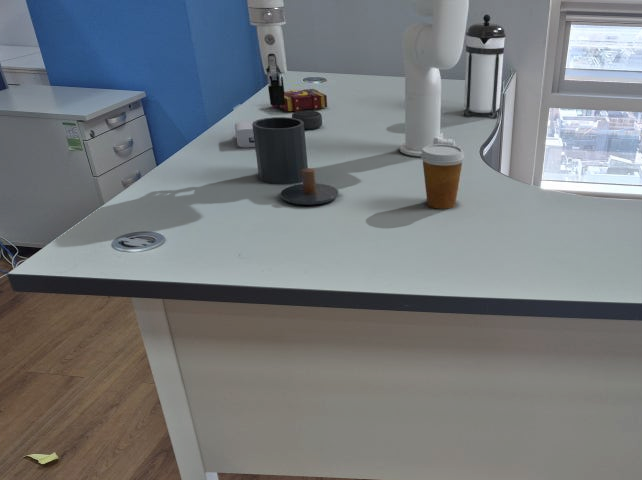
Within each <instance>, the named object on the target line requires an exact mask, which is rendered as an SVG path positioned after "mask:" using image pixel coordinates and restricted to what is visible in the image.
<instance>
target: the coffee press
mask: <svg viewBox="0 0 642 480" xmlns="http://www.w3.org/2000/svg"><path fill="white" fill-rule="evenodd" d="M482 18H483V21H484V22H476V23H473V24H471V25H469V26H468V28H467V31H465V36H466V44H465V52H466V53H465V54H466V55H465V72H464V73H465V75H464V78H465V79H464V97H463V98H464V103H463V104H464V105H463V106H464V111H463V116H464V117H467V118H468V117H469V116H470V115H471V114H472V113H477V114H478V113H479V114H489V115H490V117H491V118H492V119H497V118H498V113H499V111H500V105H501V93H502V78H503V67H504V65H503V64H504V53H505V49H506V48H505V39H506V37H507V33H506V32H505V29H504V27H503V26H502V25H500V24H498V23H491V15H489V14H485V15H484V16H483V17H482Z"/></svg>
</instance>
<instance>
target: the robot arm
mask: <svg viewBox="0 0 642 480" xmlns="http://www.w3.org/2000/svg"><path fill="white" fill-rule="evenodd" d="M246 3H247V10H248V18H249V24H250V26H255V27H256V34H257V41H258V46H259V52H260V58H261V64H262V67H263V72H264V74H265V75H266V76H267V80H268V81H267V82H268V86H267V88H268V96H269V103H270V105H271V107H272V106H273V105H285V98H284V94H285V93H284V92H285V85H284V79H283V78H284V77H283V76H282V74H283V75H284V76H286V75H287V74H288V68H287V67H288V66H287V57H286V48H285V43H284V42H285V41H284V35H283V28H282V26H285V25H286V24H287V22H286V21H287V20H286V13H285V4H284V0H246ZM411 5H412V9H413V10H414V11H415V13H416V14H418V15H419V16H422V17H424V18H429V19H433V20H432V24H431V23H427V22H416V23H413V24H411V25H409V26H408V27H407V28H406V29H405V30H404V32H403V33H402V37H401V41H400V44H401V46H400V47H401V57H402V62H403V66H404V67H403V69H404V128H405V131H404V132H405V133H404V135H405V136H404V137H405V139H404V142H403V143H401V144H400V145H399V151H400V152H401V153H402V154H404V155H407V156H411V157H419V158H421V156H420V155H421V153H422V150H423V148H424V147H426V146H429V145H435V144H446V145H454V146H456V141H455V140H453V139H452V138H451V139H450V138H445V137H444V133H443V132H441V111H442V77H441V72H440V70H441V71H448V70H451V69H453V68H454V67H456V65H458V62H459V60H460V59H461V56H462V54H463V50H464V42H465V38H466V37H465V36H466V28H467V23H468V15H469V7H470V1H469V0H411Z"/></svg>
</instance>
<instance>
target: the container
mask: <svg viewBox="0 0 642 480" xmlns="http://www.w3.org/2000/svg"><path fill="white" fill-rule="evenodd" d="M252 126H253V134H254V142H255V147H254V148H255V157H256V164H257V171H258V178H259V180H260V181H262V182H264V183H267V184H274V185H288V184H289V185H290V184H296V183H300V182H302V171H301V170H302V169H305V168H309V166H308V155H307V144H306V131H305V129H304V121H302V120H300V119H295V118H292V117H286V116H285V117H284V116H274V117H265V118H260V119H257V120H254V122H253V124H252Z"/></svg>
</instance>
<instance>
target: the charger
mask: <svg viewBox="0 0 642 480" xmlns="http://www.w3.org/2000/svg"><path fill="white" fill-rule="evenodd" d="M254 121H255V120H254ZM254 121H253V120H251V121H238V122H235V124H234V130H235V138H236V141H237V146H238V147H239V148H255V142H254V134H253V126H252V124H253V122H254Z"/></svg>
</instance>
